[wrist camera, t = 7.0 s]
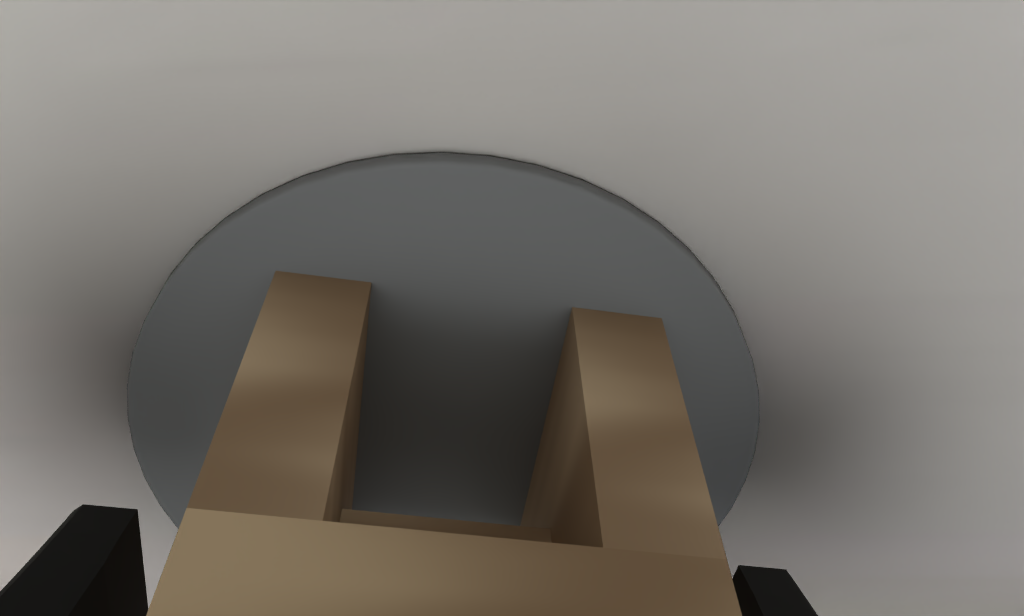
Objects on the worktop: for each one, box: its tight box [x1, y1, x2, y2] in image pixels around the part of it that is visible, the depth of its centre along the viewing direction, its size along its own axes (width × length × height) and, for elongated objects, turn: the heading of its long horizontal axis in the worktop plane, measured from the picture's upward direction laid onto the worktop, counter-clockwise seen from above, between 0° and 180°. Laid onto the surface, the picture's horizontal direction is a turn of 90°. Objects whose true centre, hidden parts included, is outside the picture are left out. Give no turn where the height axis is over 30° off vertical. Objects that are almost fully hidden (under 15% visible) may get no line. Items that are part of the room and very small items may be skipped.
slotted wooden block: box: [146, 271, 742, 616], centre depth 11 cm, size 5×5×6 cm
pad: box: [127, 153, 759, 529], centre depth 13 cm, size 9×9×1 cm
